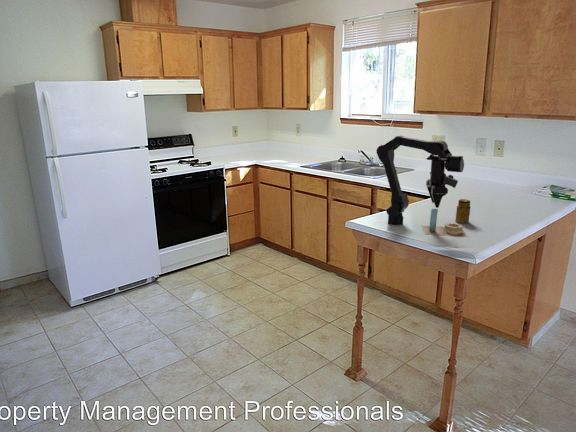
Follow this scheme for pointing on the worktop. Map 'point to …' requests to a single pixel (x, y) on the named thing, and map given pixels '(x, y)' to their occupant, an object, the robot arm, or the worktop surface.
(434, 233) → the board
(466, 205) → the condiment
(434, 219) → the dowel
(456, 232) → the bead
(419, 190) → the worktop surface
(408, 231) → the worktop surface
